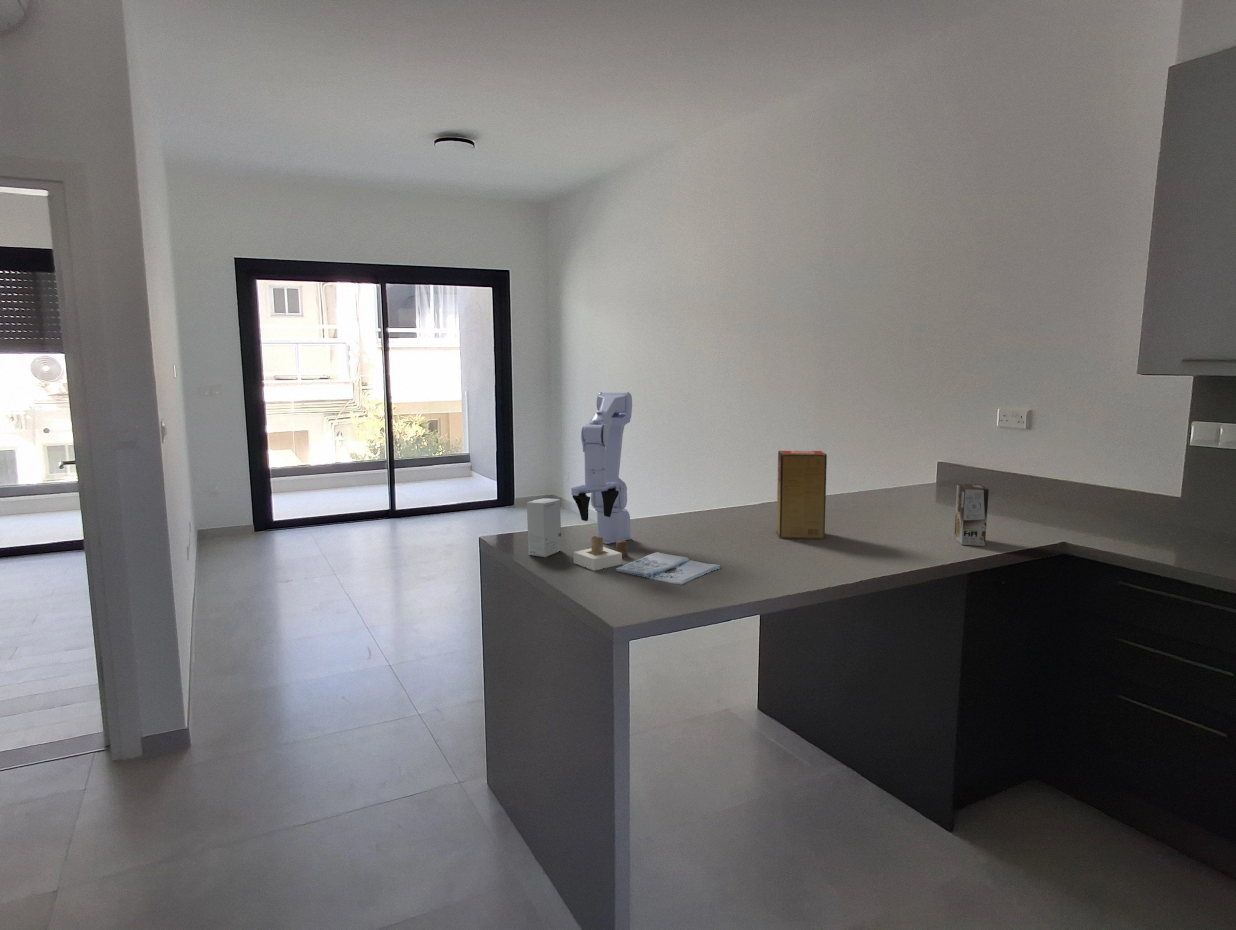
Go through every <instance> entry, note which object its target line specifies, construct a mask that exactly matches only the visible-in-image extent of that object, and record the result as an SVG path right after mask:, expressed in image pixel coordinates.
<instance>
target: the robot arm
mask: <svg viewBox="0 0 1236 930" xmlns="http://www.w3.org/2000/svg"><path fill="white" fill-rule="evenodd" d="M632 396H633V395H632V394H631V393H630V391H628V392H603V391H600V392H599V393H598V394H597V396H596V409H597V410H596V411H595V412H594V413H593V415H592V417H591V418H590V420H589V422H588V424H585V425H583V426H582V428H581V432H580V434H581V437H580V438H581V439H580V440H581V444H582V452H583V453H584V484H581V485H579V486H574V487H571V495H572V499H573V500H574V503H575V504H576V506H577V508H578V512H579V515H580V519H581V521H584V522H589V505H591V507H592V508H593V509H595V512H596V526H597V527H596V530H597V531H596V533H597V535H596V536H601V537H603V544H606V545H608V544H614V543H616V541H618V540H625V541H628V540H632V539H633V537H632V536H631V516H630V513H629V511H628V509H626V507H627V503H628V486H627V484H626V482H625V481H623V479H621V478H620V468H621V467H620V466H621V457H622V446H623V445H622V444H623V437H624V435H623V434H624V430H625V426H626V425H628V424H629V423H630V422H631V419H632V413H633V398H632ZM588 494H590V496H588Z"/></svg>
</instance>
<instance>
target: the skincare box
mask: <svg viewBox="0 0 1236 930" xmlns="http://www.w3.org/2000/svg"><path fill="white" fill-rule="evenodd" d="M526 513H527V514H526V515H527V546H528V548H527V549H528V550H527V551H528V553H527V554H528V555H529V556H536V557H541V558H547V557H549V556H551V555H554V554H557V553H560V552H561V551H562V525H561V499H558V498H548V497H547V498H546V497H543V498H539V499H534V500H531V501H527V502H526ZM559 551H560V552H559Z"/></svg>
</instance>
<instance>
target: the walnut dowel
mask: <svg viewBox="0 0 1236 930" xmlns="http://www.w3.org/2000/svg"><path fill="white" fill-rule="evenodd" d="M615 551H617V552H620V553H622V558H627V557H628V540H618V541H616V542H615Z"/></svg>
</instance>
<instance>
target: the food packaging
mask: <svg viewBox="0 0 1236 930" xmlns="http://www.w3.org/2000/svg"><path fill="white" fill-rule="evenodd" d="M827 462H828V456H827V453H826V452H823V451H822V450H778V453H777V492H776V498H777V499H776V530H775V531H776V534H777V536H778V538H780V539H793V540H794V539H795V540H796V539H799V540H800V539H801V540H803V539H804V540H805V539H807V540H808V539H809V540H812V539H813V540H825V539H826V538H825V536H826V535H825V534H826V533H825V532H826V531H825V529H826V501H827V500H826V499H827V498H826V497H827Z"/></svg>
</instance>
